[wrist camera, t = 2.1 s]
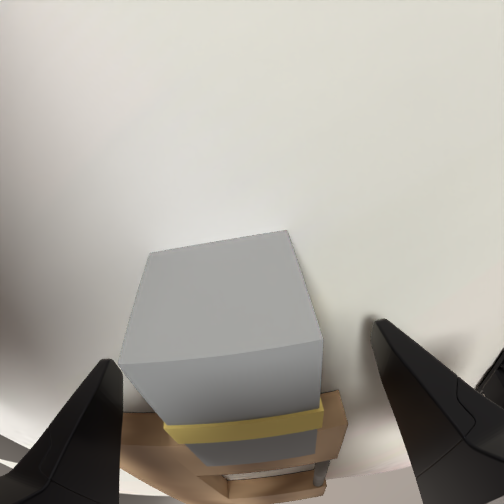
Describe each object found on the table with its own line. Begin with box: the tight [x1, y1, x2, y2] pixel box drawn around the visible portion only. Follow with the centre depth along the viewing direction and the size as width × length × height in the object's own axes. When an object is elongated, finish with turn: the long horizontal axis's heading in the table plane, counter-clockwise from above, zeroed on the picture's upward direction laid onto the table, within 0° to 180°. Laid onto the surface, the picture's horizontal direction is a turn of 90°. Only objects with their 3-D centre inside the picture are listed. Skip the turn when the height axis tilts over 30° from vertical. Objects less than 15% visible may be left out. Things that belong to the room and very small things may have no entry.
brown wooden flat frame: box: [120, 390, 348, 504], centre depth 19 cm, size 14×22×2 cm, turn 8°
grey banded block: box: [118, 230, 324, 467], centre depth 9 cm, size 4×7×4 cm, turn 8°
